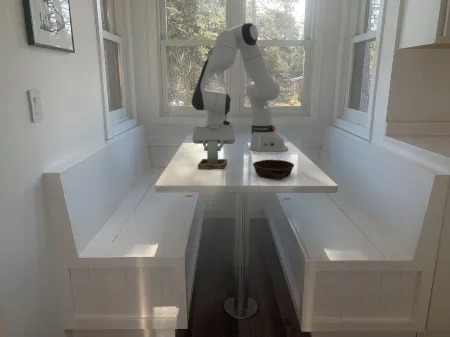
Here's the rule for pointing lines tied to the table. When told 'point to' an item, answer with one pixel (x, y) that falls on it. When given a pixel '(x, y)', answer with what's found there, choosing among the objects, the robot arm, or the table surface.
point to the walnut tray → (212, 164)
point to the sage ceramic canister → (212, 151)
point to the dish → (273, 168)
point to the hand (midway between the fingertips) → (212, 150)
